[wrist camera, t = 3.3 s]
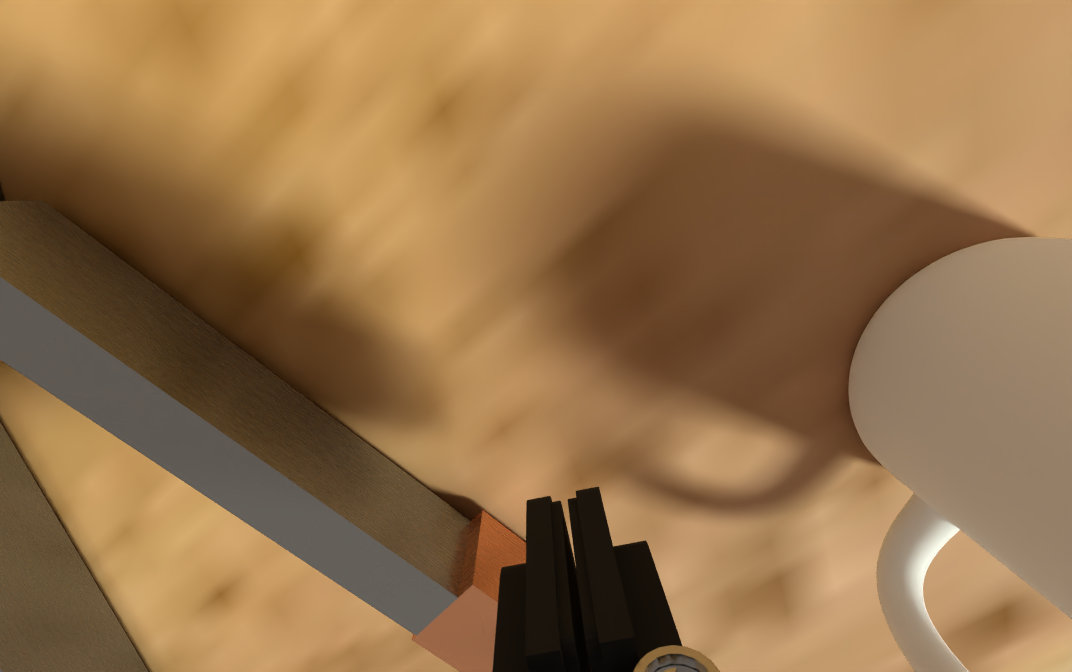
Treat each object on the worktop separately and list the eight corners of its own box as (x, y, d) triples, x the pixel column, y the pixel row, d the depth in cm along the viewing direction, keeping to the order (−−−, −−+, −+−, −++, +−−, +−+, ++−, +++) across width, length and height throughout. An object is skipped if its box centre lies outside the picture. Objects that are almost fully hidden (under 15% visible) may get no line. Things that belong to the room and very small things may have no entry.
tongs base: (-257, 118, 13) (-584, 91, 9) (-59, 70, 13) (-309, 22, 9) (148, 754, 20) (59, 888, 16) (280, 731, 20) (221, 862, 16)
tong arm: (-217, 194, 13) (-615, 201, 9) (-140, 36, 12) (-546, -54, 8) (464, 652, 18) (443, 809, 14) (560, 569, 17) (572, 709, 13)
